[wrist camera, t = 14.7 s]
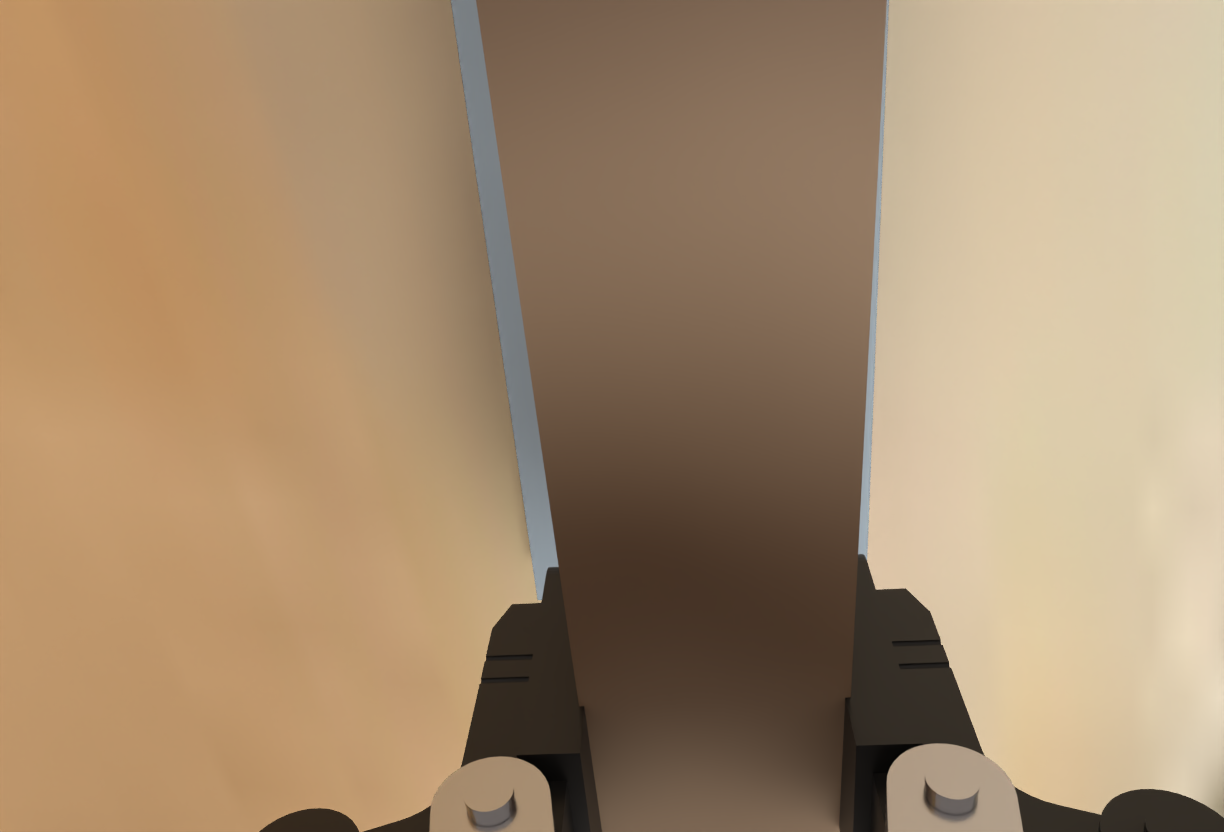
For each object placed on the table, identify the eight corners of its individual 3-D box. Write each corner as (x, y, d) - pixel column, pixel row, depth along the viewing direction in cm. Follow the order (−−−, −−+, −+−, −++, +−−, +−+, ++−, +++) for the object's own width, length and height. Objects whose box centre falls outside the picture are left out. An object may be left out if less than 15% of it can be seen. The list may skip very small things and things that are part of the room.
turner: (344, -79, 11) (202, -21, 7) (1011, -140, 10) (1187, -111, 7) (544, 917, 20) (522, 1144, 17) (901, 911, 20) (953, 1145, 16)
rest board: (544, 562, 33) (537, 599, 31) (447, -133, 24) (431, -135, 22) (854, 547, 32) (865, 586, 30) (877, -175, 23) (895, -180, 21)
